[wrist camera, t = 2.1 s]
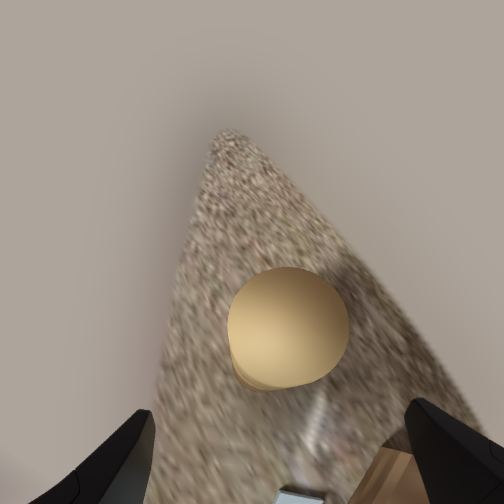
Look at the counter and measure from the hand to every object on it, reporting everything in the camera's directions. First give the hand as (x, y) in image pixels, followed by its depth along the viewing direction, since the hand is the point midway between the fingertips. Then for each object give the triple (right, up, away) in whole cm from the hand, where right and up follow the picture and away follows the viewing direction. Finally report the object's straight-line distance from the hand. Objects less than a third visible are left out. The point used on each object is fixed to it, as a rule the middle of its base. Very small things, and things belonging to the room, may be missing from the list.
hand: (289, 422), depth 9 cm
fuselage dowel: (0, -2, +11) cm, 11 cm away
